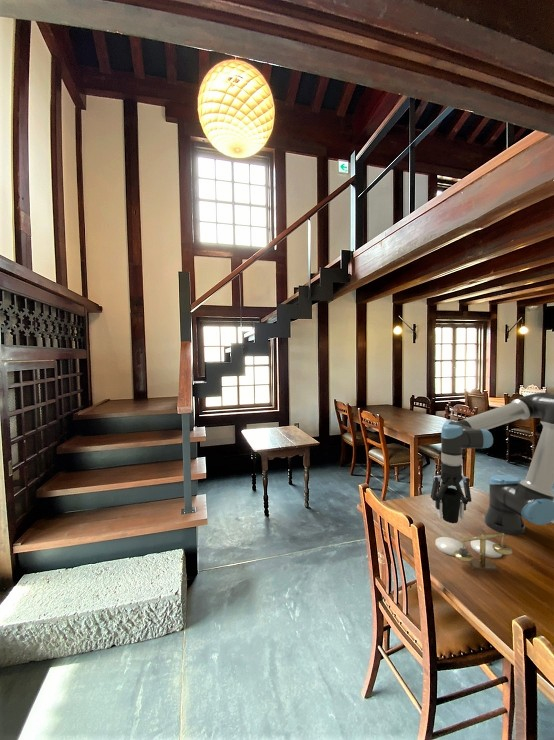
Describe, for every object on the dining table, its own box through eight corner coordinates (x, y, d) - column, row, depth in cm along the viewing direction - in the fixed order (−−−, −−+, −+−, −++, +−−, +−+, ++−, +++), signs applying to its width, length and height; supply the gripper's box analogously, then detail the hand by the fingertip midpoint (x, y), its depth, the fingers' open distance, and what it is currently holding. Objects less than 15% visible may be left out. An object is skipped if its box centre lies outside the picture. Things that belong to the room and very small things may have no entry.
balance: (505, 562, 121) (506, 528, 120) (515, 573, 115) (516, 537, 114) (451, 559, 123) (451, 526, 122) (458, 570, 117) (459, 535, 116)
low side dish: (458, 540, 136) (458, 537, 135) (470, 556, 125) (470, 553, 125) (431, 539, 137) (431, 536, 137) (441, 555, 126) (441, 552, 126)
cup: (463, 525, 126) (464, 496, 125) (443, 523, 127) (443, 494, 126) (457, 515, 133) (457, 488, 132) (437, 514, 135) (437, 486, 134)
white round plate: (492, 541, 134) (492, 539, 134) (508, 558, 123) (508, 555, 123) (465, 540, 135) (465, 537, 135) (478, 557, 124) (479, 554, 124)
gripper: (473, 460, 131) (472, 513, 132) (421, 459, 133) (421, 511, 135) (483, 467, 124) (481, 523, 125) (428, 465, 126) (427, 520, 127)
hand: (450, 516), depth 130 cm, fingers closed on cup, 8 cm apart
